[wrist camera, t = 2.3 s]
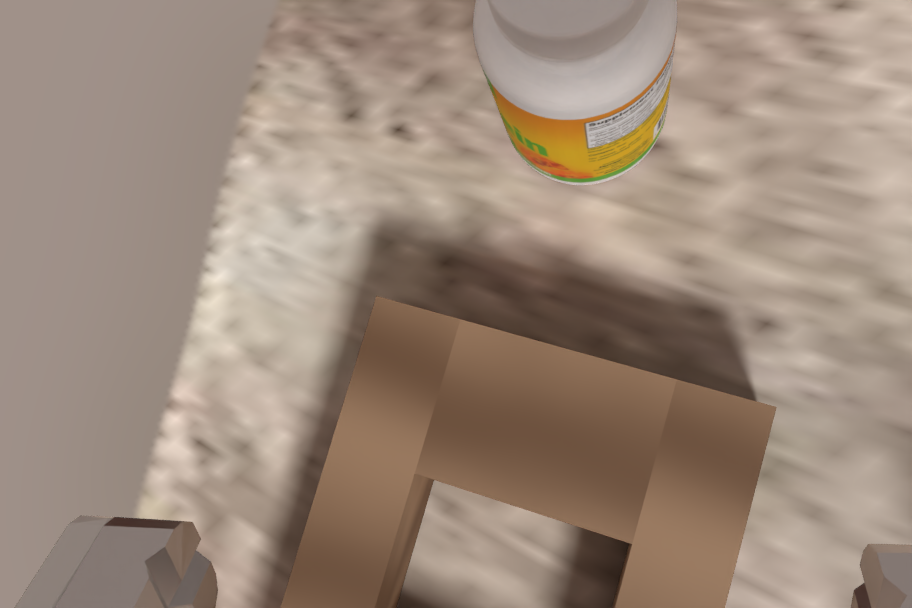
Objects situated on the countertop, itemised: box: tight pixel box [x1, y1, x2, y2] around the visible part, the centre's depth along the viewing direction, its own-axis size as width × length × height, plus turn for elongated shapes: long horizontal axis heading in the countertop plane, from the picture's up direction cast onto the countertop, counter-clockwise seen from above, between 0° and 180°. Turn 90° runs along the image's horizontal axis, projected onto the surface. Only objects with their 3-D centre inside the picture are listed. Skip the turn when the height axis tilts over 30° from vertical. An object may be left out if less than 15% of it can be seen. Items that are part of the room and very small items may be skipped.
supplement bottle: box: [473, 0, 677, 185], centre depth 25 cm, size 5×5×10 cm
